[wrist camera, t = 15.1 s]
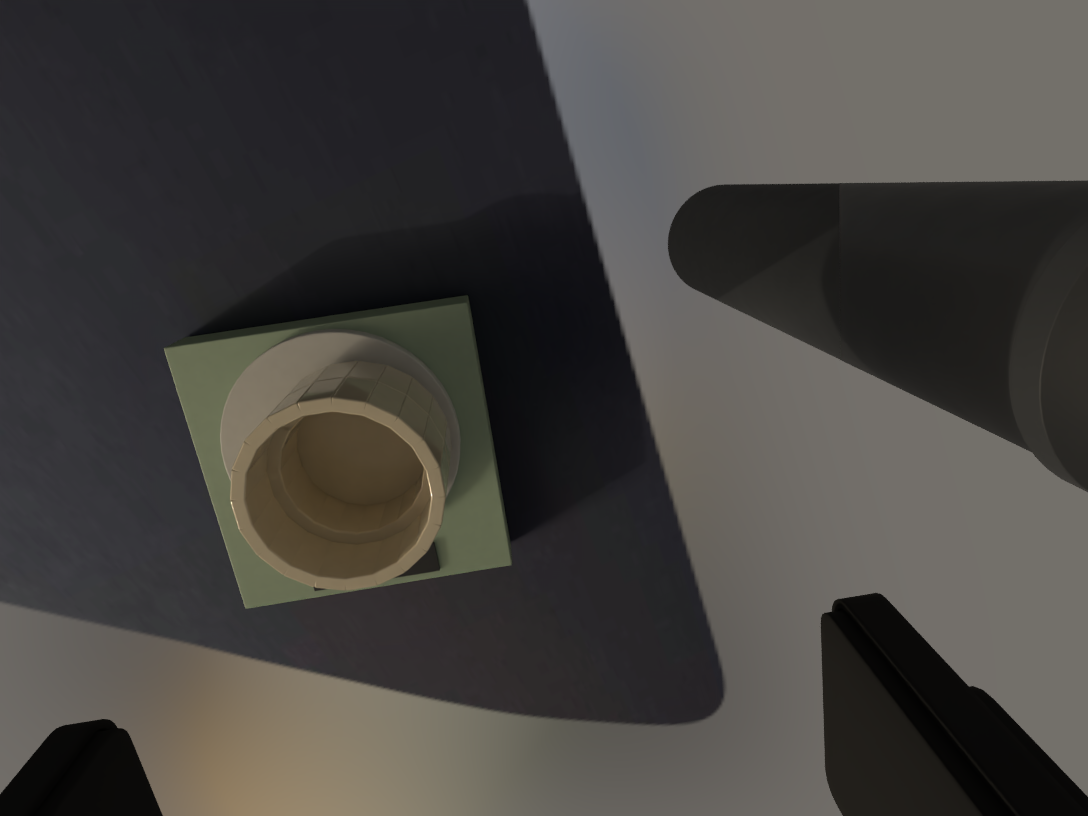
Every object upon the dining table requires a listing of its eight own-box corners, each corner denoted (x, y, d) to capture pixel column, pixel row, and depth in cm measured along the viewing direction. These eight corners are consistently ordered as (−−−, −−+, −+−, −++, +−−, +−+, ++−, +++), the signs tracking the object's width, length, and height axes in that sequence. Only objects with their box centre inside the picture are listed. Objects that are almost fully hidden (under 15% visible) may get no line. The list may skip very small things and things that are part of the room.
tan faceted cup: (434, 345, 28) (423, 382, 22) (464, 504, 30) (461, 572, 25) (256, 372, 27) (203, 417, 22) (300, 531, 30) (261, 605, 24)
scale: (468, 294, 30) (466, 304, 27) (510, 543, 33) (512, 572, 31) (183, 337, 29) (155, 351, 27) (258, 584, 33) (240, 617, 30)
